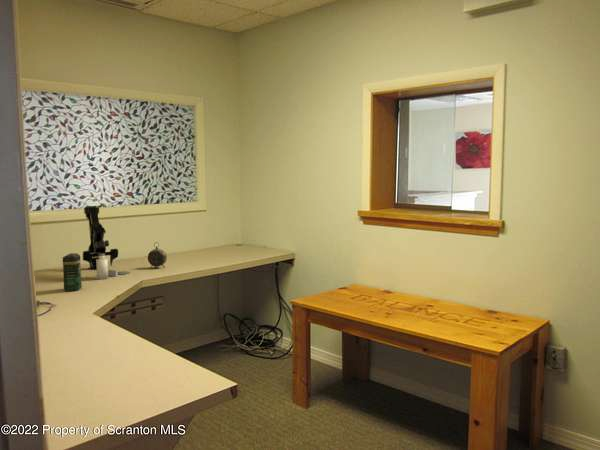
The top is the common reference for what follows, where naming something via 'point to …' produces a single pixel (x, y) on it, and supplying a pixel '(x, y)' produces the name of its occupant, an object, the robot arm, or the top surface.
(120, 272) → the mat
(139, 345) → the top surface
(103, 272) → the bottle
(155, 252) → the alarm clock
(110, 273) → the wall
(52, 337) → the top surface
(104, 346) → the top surface
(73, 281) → the coffee jar
